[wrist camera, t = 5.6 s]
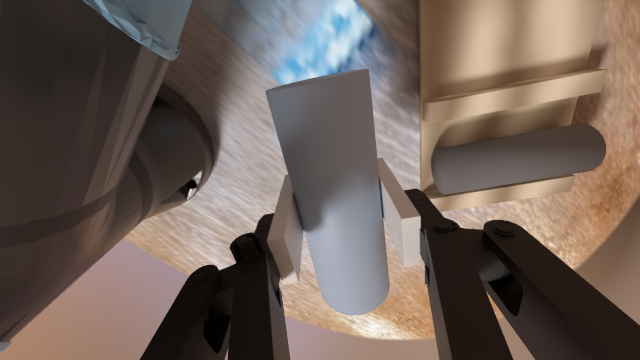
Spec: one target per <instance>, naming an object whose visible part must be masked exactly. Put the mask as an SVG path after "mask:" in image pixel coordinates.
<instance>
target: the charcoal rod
mask: <svg viewBox="0 0 640 360" xmlns="http://www.w3.org/2000/svg"><path fill="white" fill-rule="evenodd" d="M605 154H606V144H605V141H604V138H603V136H602V135H601V134H600V132H599V131H598V130H597V129H595V128H594V127H592V126H590V125H587V124H573V125H568V126H562V127H556V128H551V129H545V130H540V131H534V132H528V133H523V134H517V135H512V136H506V137H501V138H495V139H489V140H484V141H478V142H473V143H467V144H461V145H456V146H450V147H445V148H439V149H435V150H434V151H433V153H432V156H431V171H432V176H433V180H434V182H435V185H436V187H437V188H438V190H439V191H440V192H441V193H442V194H452V193H458V192H464V191H470V190H476V189H483V188H489V187H495V186H501V185H507V184H513V183H519V182H526V181H532V180H538V179H544V178H550V177H556V176H562V175H568V174H575V173H581V172H587V171H591V170H593V169H595V168H596V167H598V166H599V165H600V164H601V163H602V161H603V159H604V157H605Z"/></svg>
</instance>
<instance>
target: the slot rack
mask: <svg viewBox="0 0 640 360" xmlns="http://www.w3.org/2000/svg"><path fill="white" fill-rule="evenodd" d="M603 2H604V0H418V9H419V96H420V183H421V191H422V192H424V193H425V194H426V195H427V197H428V198H429V199H430V200H431V202H432V204H434V205H435V207H436V208H437V209H438V210H439V212H443V211H449V210H455V209H462V208H468V207H474V206H481V205H487V204H493V203H500V202H506V201H512V200H519V199H525V198H531V197H538V196H544V195H550V194H557V193H563V192H569V191H571V188H572V185H573V182H574V179H575V175H572V174H568V175H562V176H556V177H550V178H544V179H538V180H532V181H526V182H519V183H513V184H507V185H501V186H495V187H489V188H483V189H476V190H470V191H464V192H458V193H452V194H442V193H441V192H440V191H439V190H438V188H437V187H436V185H435V182H434V180H433V176H432V171H431V156H432V153H433V151H434V150H435V149H439V148H445V147H450V146H456V145H461V144H467V143H473V142H478V141H484V140H489V139H495V138H501V137H506V136H512V135H517V134H523V133H528V132H534V131H540V130H545V129H551V128H556V127H562V126H568V125H571V123H572V119H573V115H574V111H575V108H576V104H577V100H578V96H581V95H587V94H592V93H597V92H601V89H602V86H603V83H604V79H605V76H606V73H607V69H586V66H587V63H588V59H589V55H590V51H591V48H592V44H593V40H594V36H595V33H596V29H597V25H598V21H599V17H600V14H601V10H602V6H603Z"/></svg>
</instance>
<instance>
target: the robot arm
mask: <svg viewBox="0 0 640 360" xmlns="http://www.w3.org/2000/svg"><path fill="white" fill-rule="evenodd" d="M191 3H192V0H0V353H1V352H2V351H4V350H5V349H6V348H7V347H8V346H9V345H10V344H11V342H10V340H11V339H12V338H13V337H14V336H15V335H16V334H18V333H19V332H20V331H21V330H22V329H23V328H24V327H25V326H26V325H28V324H29V323H30V322H31V321H32V320H33V319H34V318H35V317H36V316H37V315H39V314H40V313H41V312H42V311H43V310H44V309H45V308H46V307H47V306H49V304H51V303H52V302H53V301H54V300H55V299H56V298H57V297H58V296H60V295H61V294H62V293H63V292H64V291H65V290H66V289H67V288H68V287H70V285H72V284H73V283H74V282H75V281H76V280H77V279H78V278H79V277H81V276H82V275H83V274H84V273H85V272H86V271H87V270H88V269H89V268H91V267H92V266H93V265H94V264H95V263H96V262H97V261H98V260H99V259H100V258H102V257H103V256H104V255H105V254H106V253H107V252H108V251H109V250H110V249H112V248H113V247H114V246H115V245H116V244H117V243H118V242H119V241H120V240H121V239H123V238H124V237H125V236H126V235H127V234H128V233H129V232H130V231H132V229H134V228H135V227H136V226H137V225H138V224H139V223H140V222H141V221H142V220H144V219H147V218H149V217H152V216H154V215H157V214H159V213H162V212H164V211H167V210H169V209H172V208H174V207H177V206H179V205H181V204H183V203H185V202H186V201H188V200H189V199H190V198H192V197H193V196H194V195H195V194H196V193H197V192H198V191H199V190H200V188H201V187H202V186H203V185H204V184H205V182H206V181H207V179H208V177H209V175H210V173H211V169H212V164H213V150H212V144H211V140H210V137H209V134H208V132H207V130H206V127H205V126H204V124H203V122H202V120H201V119H200V117H199V116H198V114H197V113H196V112H195V110H194V109H193V108H192V107H191V106H190V105H189V104H188V103H187V102H186V101H185V100H184V99H183V98H182V97H181V96H180V95H178V94H177V93H176V92H174V91H173V90H171V89H170V88H168V87H167V86H165V85H163V84H162V81H163V79H164V77H165V74H166V72H167V69H168V67H169V64H170V62H171V60H173V61H175V59H176V58H177V57H178V55H179V54H180V51H181V49H180V45H179V43H178V41H179V39H180V36H181V33H182V30H183V27H184V24H185V21H186V18H187V15H188V12H189V9H190V6H191ZM377 160H378V171H379V181H380V192H381V202H382V212H383V217H384V220H385V222H386V225H387V227H388V230H389V232H390V234H391V237H392V239H393V242H394V244H395V246H396V249H397V251H398V254H399V256H400V259H401V261H402V263H403V266H404V267H411V266H418V265H421V257H422V259H423V261H424V263H425V284H427V287H428V293H429V299H430V305H431V311H432V317H433V323H434V329H435V335H436V341H437V347H438V353H439V359H440V360H513V358H512V355H511V353H510V350H509V348H508V345H507V343H506V340H505V338H504V335H503V333H502V330H501V328H500V325H499V323H498V320H497V318H496V315H495V313H494V310H493V308H492V305H491V303H490V300H489V298H488V295H487V293H488V294H489V295H490V297H491V298H492V300H493V301H494V302H495V304H496V305H497V307H498V308H499V309H500V311H501V312H502V314H503V315H504V316H505V318H506V319H507V321H508V322H509V323H510V325H511V326H512V327H513V329H514V330H515V332H516V333H517V335H518V336H519V337H520V339H521V340H522V342H523V343H524V344H525V346H526V347H527V349H528V350H529V351H530V353H531V354H532V356H533V357H534V358H535V360H640V325H639V324H637V323H636V322H635V321H634V320H633V319H631V318H630V317H629V316H628V315H627V314H625V313H624V312H623V311H622V310H621V309H619V308H618V307H617V306H616V305H615V304H613V303H612V302H611V301H610V300H609V299H607V298H606V297H605V296H604V295H602V294H601V293H600V292H599V291H598V290H597V289H595V288H594V287H593V286H592V285H590V284H589V283H588V282H587V281H586V280H585V279H583V278H582V277H581V276H580V275H579V274H577V273H576V272H575V271H574V270H573V269H571V268H570V267H569V266H568V265H567V264H565V263H564V262H563V261H562V260H561V259H559V258H558V257H557V256H556V255H555V254H553V253H552V252H551V251H550V250H549V249H547V248H546V247H545V246H544V245H543V244H541V243H540V242H539V241H538V240H537V239H535V238H534V237H533V236H532V235H531V234H529V233H528V232H527V231H526V230H525V229H523V228H522V227H520V226H519V225H517V224H515V223H512V222H509V221H504V220H492V221H488V222H487V223H485V224H484V228H483V230H478V229H465V228H460V226H459V225H458V224H457V223H456V222H454V221H453V220H450V219H447V218H444V217H443V215H442V214H441V213H440V212H439V210H438V209H437V208H436V207H435V205H434V204H432V202H431V200H430V199H429V198H428V197H427V195H426V194H425V193H424V192H422V191H420V190H418V189H411V190H405V191H404V190H403V189H402V187H401V186H400V184H399V183H398V181H397V179H396V178H395V176H394V175H393V173H392V172H391V170H390V169H389V167H388V166H387V164H386V163H385V161H384V160H383V158H377ZM302 240H303V225H302V222H301V218H300V214H299V211H298V207H297V204H296V200H295V196H294V193H293V189H292V185H291V182H290V178H289V175H285V179H284V182H283V186H282V189H281V193H280V196H279V200H278V203H277V206H276V210H275V213H272V214H266V215H264V216H263V217H262V218H261V219H260V220H259V222H258V224H257V228H256V230H255V233H246V234H243V235H241V236H239V237H238V238H236V239H235V240H234V241H233V242H232V243H231V245H230V250H231V252H232V254H233V256H234V258H235V261H236V264H234V265H232V266H230V267H227V268H225V269H222V270H218V268H217V266H215V265H206V266H203V267H201V268H199V269H197V270H196V271H194V272H193V273H192V274H191V275H190V276H189V278H188V279H187V281H186V282H185V284H184V286H183V287H182V289H181V291H180V292H179V294H178V296H177V297H176V299H175V301H174V303H173V304H172V306H171V308H170V309H169V311H168V313H167V314H166V316H165V318H164V319H163V321H162V323H161V325H160V326H159V328H158V330H157V331H156V333H155V335H154V336H153V338H152V340H151V341H150V343H149V345H148V347H147V349H146V350H145V352H144V354H143V355H142V357H141V359H140V360H225V357H226V353H227V350H228V360H290V354H289V347H288V339H287V331H286V324H285V316H284V309H283V301H282V294H281V290H280V288H279V281H280V278H281V280H282V283H283V285H285V284H292V283H299V274H300V263H301V251H302ZM486 291H487V293H486ZM228 347H229V348H228Z"/></svg>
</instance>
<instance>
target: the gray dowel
mask: <svg viewBox="0 0 640 360" xmlns="http://www.w3.org/2000/svg"><path fill="white" fill-rule="evenodd" d="M265 92H266V95H267V99H268V103H269V106H270V110H271V113H272V117H273V121H274V124H275V128H276V131H277V135H278V139H279V142H280V146H281V149H282V153H283V157H284V160H285V164H286V167H287V171H288V175H289V178H290V182H291V185H292V189H293V193H294V196H295V200H296V204H297V207H298V211H299V214H300V218H301V222H302V225H303V229H304V232H305V236H306V240H307V243H308V247H309V250H310V254H311V258H312V261H313V265H314V268H315V272H316V276H317V279H318V283H319V286H320V290H321V294H322V297H323V299H324V300H325V302H326V303H327V304H328V305H329V306H330V307H331V308H332V309H334V310H335V311H337V312H339V313H342V314H346V315H361V314H366V313H369V312H371V311H373V310H375V309H376V308H378V307H379V306H380V305H381V304H382V303H383V302H384V301H385V299H386V297H387V295H388V292H389V274H388V264H387V254H386V243H385V233H384V223H383V212H382V202H381V192H380V181H379V171H378V160H377V150H376V140H375V129H374V119H373V109H372V98H371V88H370V77H369V69H362V70H354V71H348V72H342V73H336V74H331V75H326V76H321V77H316V78H312V79H307V80H303V81H298V82H294V83H290V84H286V85H282V86H279V87H275V88H272V89H269V90H267V91H265Z"/></svg>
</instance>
